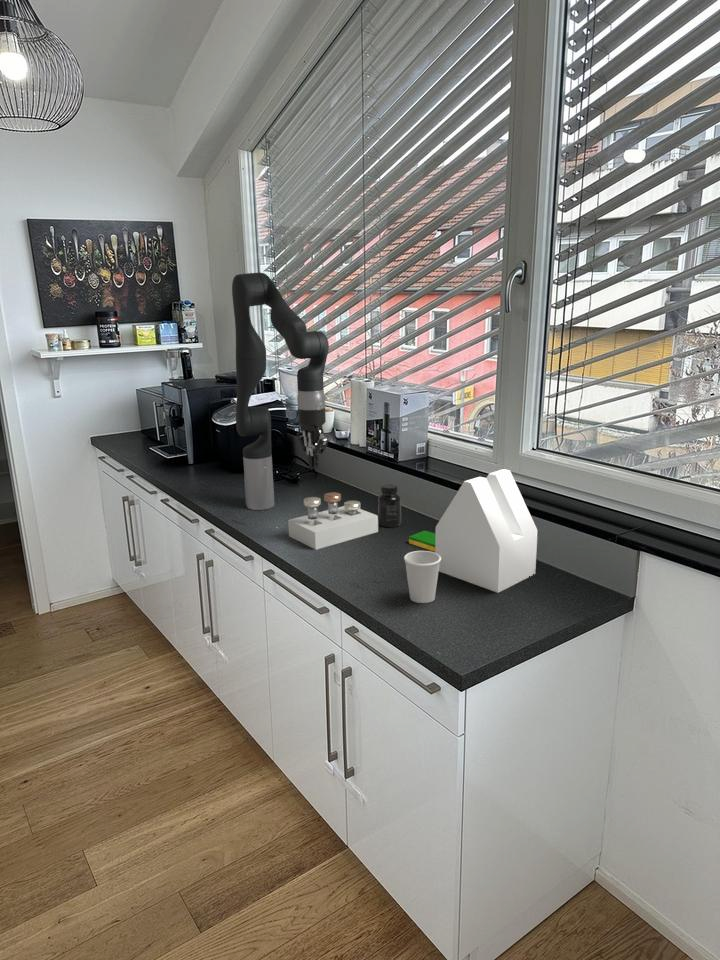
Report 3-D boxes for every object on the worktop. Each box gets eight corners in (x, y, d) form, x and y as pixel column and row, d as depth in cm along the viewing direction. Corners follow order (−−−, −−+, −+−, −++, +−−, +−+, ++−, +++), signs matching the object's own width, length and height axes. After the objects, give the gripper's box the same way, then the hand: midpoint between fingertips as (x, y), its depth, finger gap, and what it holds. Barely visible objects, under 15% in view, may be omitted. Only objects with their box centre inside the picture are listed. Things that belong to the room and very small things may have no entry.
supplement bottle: (404, 522, 206) (404, 484, 203) (396, 529, 200) (395, 490, 197) (383, 519, 209) (383, 482, 205) (374, 526, 203) (374, 488, 200)
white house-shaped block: (435, 570, 170) (436, 474, 163) (473, 553, 180) (475, 463, 174) (497, 593, 157) (501, 490, 150) (535, 574, 167) (540, 476, 160)
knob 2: (341, 520, 201) (340, 502, 199) (354, 516, 204) (353, 499, 202) (351, 524, 197) (350, 506, 196) (364, 520, 200) (363, 503, 198)
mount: (289, 536, 196) (288, 519, 195) (349, 520, 209) (349, 504, 207) (315, 549, 185) (315, 532, 184) (378, 531, 198) (377, 515, 197)
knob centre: (321, 512, 196) (320, 494, 194) (335, 509, 198) (334, 491, 197) (331, 516, 192) (330, 498, 190) (344, 513, 195) (344, 494, 193)
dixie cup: (419, 586, 160) (419, 547, 158) (447, 597, 155) (448, 556, 152) (396, 598, 155) (396, 557, 152) (425, 609, 149) (425, 567, 146)
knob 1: (301, 517, 192) (300, 499, 190) (315, 514, 194) (314, 496, 193) (310, 521, 188) (309, 503, 186) (324, 518, 191) (324, 499, 189)
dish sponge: (446, 557, 179) (447, 548, 178) (408, 544, 189) (408, 536, 188) (463, 550, 184) (463, 541, 183) (424, 538, 194) (424, 530, 193)
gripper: (286, 405, 186) (289, 466, 190) (313, 411, 176) (316, 475, 180) (309, 402, 190) (311, 461, 195) (336, 407, 180) (338, 470, 185)
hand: (313, 468), depth 188 cm, fingers closed
